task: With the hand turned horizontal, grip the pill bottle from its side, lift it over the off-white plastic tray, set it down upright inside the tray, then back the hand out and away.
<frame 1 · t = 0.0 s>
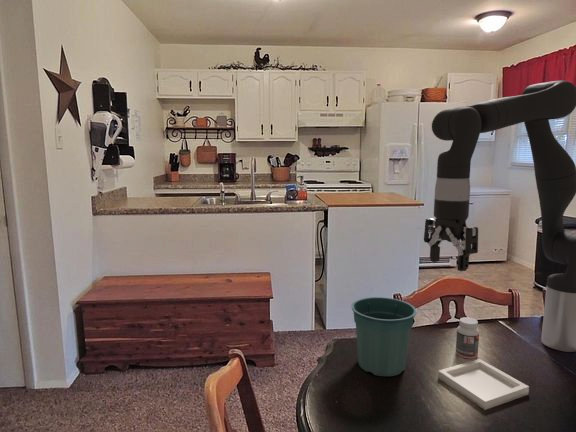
hand: (447, 265, 97), 29 cm above the table, tool pointing down, fingers open, 8 cm apart
pill bottle: (466, 354, 114), on the table
tray: (481, 385, 99), on the table
flower pot: (381, 365, 109), on the table
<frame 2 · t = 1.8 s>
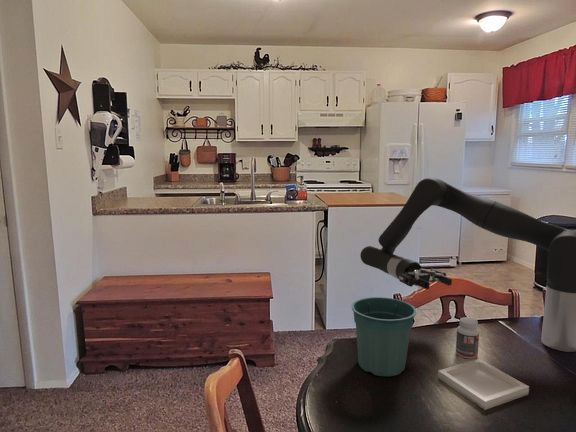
hand: (439, 284, 122), 17 cm above the table, tool horizontal, fingers open, 8 cm apart
nothing on the table moved.
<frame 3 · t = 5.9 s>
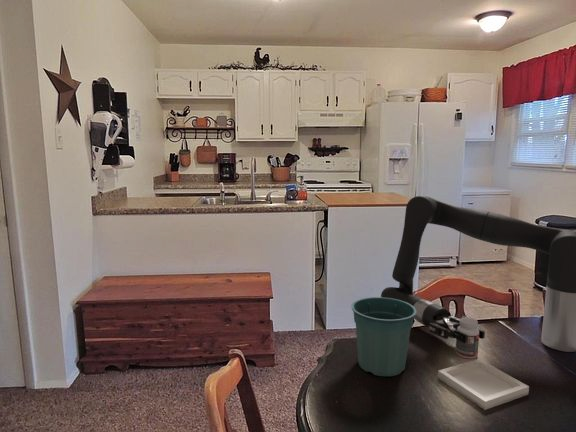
hand: (475, 337, 111), 6 cm above the table, tool horizontal, fingers closed on pill bottle, 5 cm apart
pill bottle: (466, 354, 114), on the table, touching gripper
everything else where it was.
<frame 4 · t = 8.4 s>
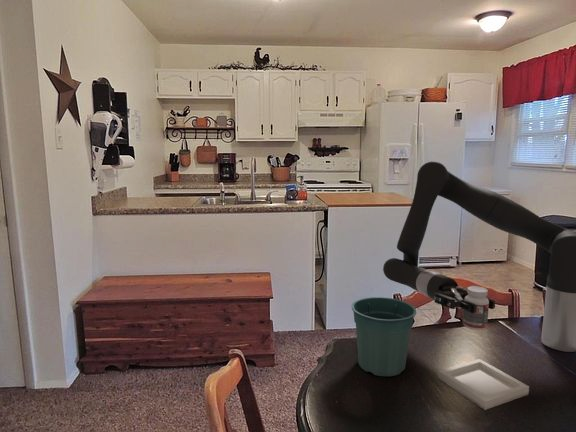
hand: (484, 307, 102), 18 cm above the table, tool horizontal, fingers closed on pill bottle, 5 cm apart
pill bottle: (474, 326, 105), point 11 cm above the table, touching gripper
everything else where it was.
when the fingers open (8 cm above the table, at t = 11.3 s): pill bottle stays where it is, resting on tray.
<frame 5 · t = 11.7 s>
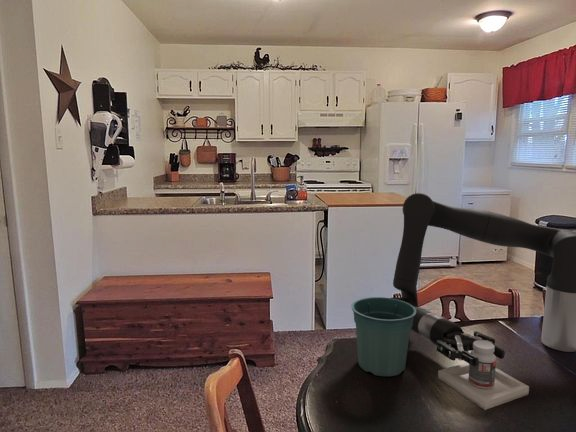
hand: (490, 358, 96), 8 cm above the table, tool horizontal, fingers open, 8 cm apart
pill bottle: (481, 384, 99), resting on tray
everything else where it was.
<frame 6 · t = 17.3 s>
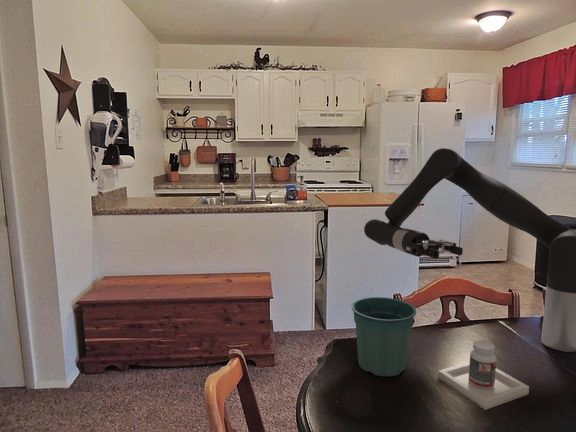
hand: (450, 253, 113), 28 cm above the table, tool horizontal, fingers open, 8 cm apart
nothing on the table moved.
at the end: pill bottle 0.2 cm off-centre on the tray, point 0.4 cm above the tray's base; pill bottle tilted 0°; the gripper is holding nothing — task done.
